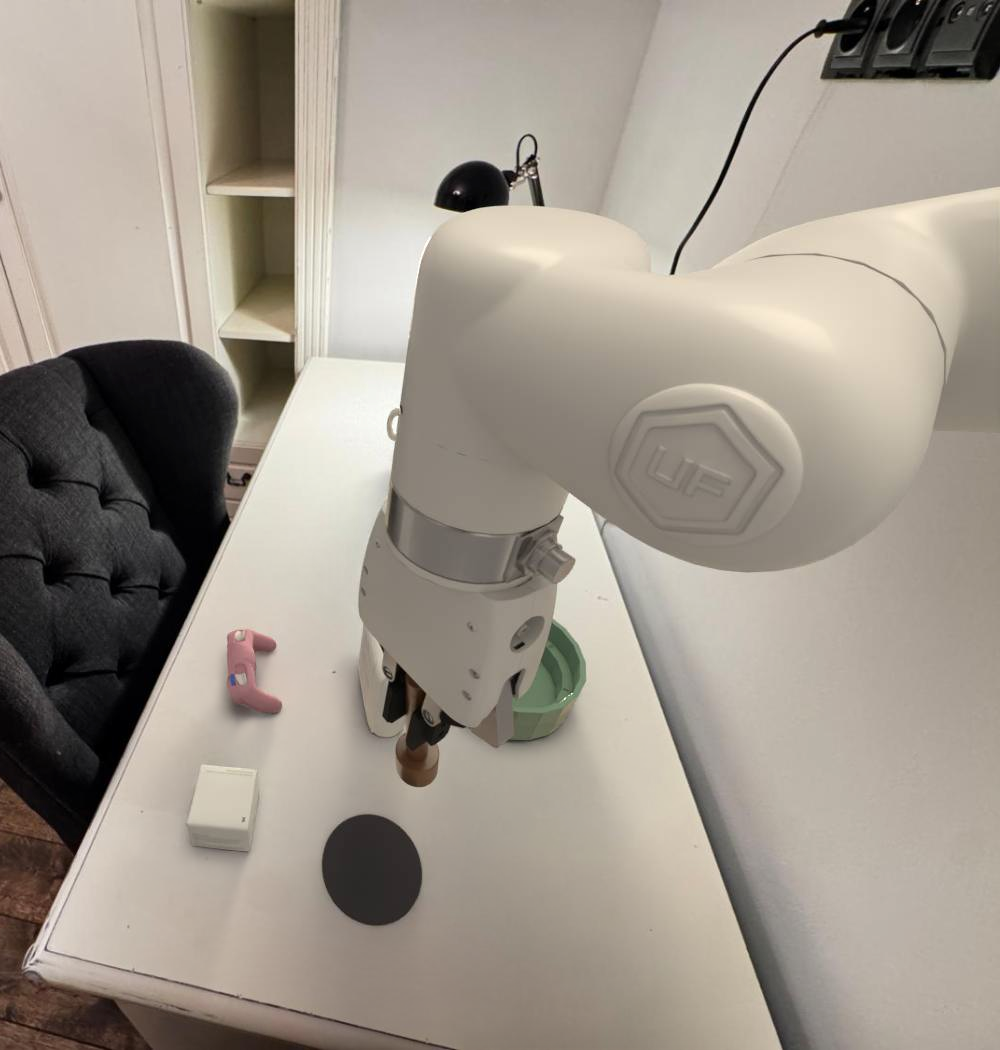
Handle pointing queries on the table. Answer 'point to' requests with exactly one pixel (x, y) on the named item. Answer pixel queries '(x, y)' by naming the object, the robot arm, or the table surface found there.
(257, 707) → the video game controller
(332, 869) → the coaster
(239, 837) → the small box
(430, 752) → the pestle
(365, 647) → the photo printer
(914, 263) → the robot arm
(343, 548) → the table surface
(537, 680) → the bowl
